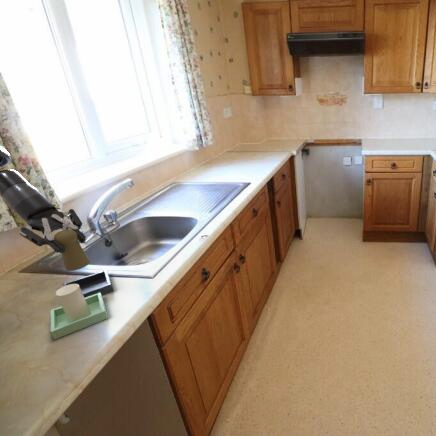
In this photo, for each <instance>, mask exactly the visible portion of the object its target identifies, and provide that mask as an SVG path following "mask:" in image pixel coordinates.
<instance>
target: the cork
mask: <svg viewBox="0 0 436 436" xmlns="http://www.w3.org/2000/svg"><path fill="white" fill-rule="evenodd" d="M54 239H56V240H57V241H58V242H59V243H60V244H61V245H62V246H63V247H64V248H65V251H64V252H63V253H60V254H61V257H62V261H63V266H64V269H65V271H68V272H72V271H78V270H81V269H83V268H85V267H87V266H89V264H91V260H90V259H89V257H88V255H87V253H86V252H85V251H84V249H83V247H82V246H81V243H80V242H79V241H78V240H77V233H76V232H75V231H73V230H60V231H58V232H56V233H55V234H54V236H53V240H54Z"/></svg>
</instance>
